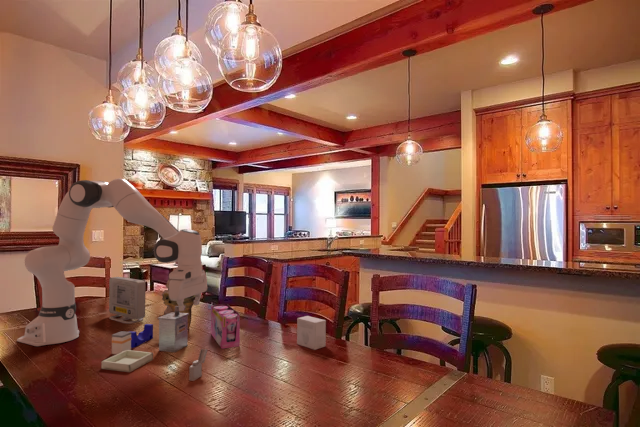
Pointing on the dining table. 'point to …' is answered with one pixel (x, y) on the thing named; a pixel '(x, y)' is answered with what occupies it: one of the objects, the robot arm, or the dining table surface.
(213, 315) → the gum box
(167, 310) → the figurine
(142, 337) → the blue notched block
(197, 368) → the lighter
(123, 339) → the block
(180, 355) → the dining table surface
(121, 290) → the network device
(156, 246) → the robot arm
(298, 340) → the skincare box
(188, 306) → the pot
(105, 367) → the parts tray
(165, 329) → the box
